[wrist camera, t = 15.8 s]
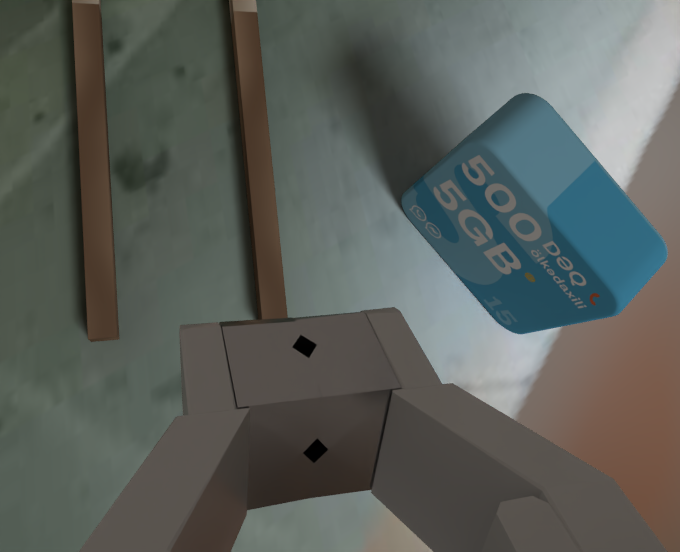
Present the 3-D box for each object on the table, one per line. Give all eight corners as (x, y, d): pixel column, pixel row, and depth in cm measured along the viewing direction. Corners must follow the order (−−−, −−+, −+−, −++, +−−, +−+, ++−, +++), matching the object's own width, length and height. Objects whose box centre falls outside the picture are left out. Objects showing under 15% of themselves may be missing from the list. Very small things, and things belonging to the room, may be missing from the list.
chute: (249, -16, 43) (252, -31, 41) (283, 325, 39) (288, 322, 37) (73, -27, 40) (70, -43, 38) (91, 341, 36) (88, 339, 34)
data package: (392, 202, 42) (475, 128, 31) (437, 164, 44) (532, 79, 32) (509, 338, 43) (633, 314, 31) (550, 295, 44) (683, 258, 33)
